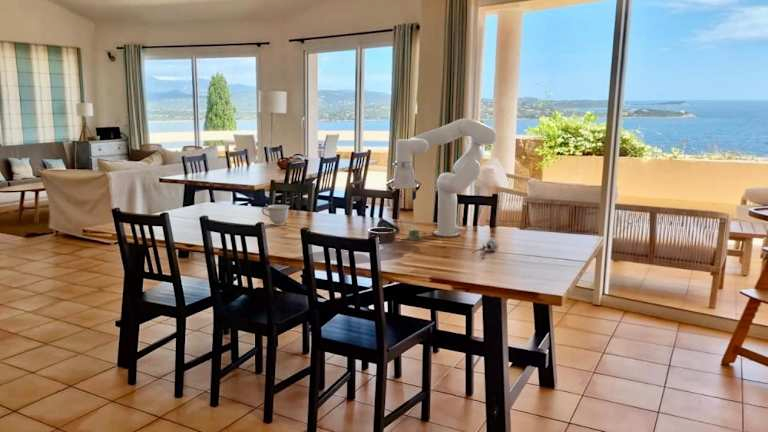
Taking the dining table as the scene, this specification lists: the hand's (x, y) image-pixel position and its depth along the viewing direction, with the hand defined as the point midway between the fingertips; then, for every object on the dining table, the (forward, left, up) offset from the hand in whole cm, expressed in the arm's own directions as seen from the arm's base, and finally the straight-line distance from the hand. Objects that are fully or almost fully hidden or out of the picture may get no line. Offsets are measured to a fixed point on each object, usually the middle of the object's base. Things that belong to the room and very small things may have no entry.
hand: (403, 199), depth 283 cm
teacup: (+66, -34, -19) cm, 77 cm away
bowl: (+11, +6, -19) cm, 22 cm away
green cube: (-5, +2, -19) cm, 20 cm away
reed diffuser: (-33, +34, -19) cm, 51 cm away
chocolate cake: (+6, -15, -19) cm, 25 cm away
